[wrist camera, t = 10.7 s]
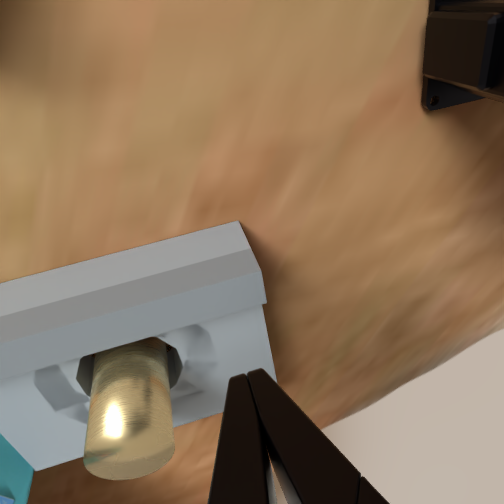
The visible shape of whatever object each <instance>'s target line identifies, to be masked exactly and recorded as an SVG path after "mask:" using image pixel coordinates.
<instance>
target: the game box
mask: <svg viewBox="0 0 504 504" xmlns="http://www.w3.org/2000/svg"><path fill="white" fill-rule="evenodd" d="M34 470H35V469H34V468H33V467H32V466H31V465H30V464H29V463H28V462H27V461H26V460H25V459H24V458H23V457H22V456H21V455H20V454H19V453H18V451H17V450H16V449H15V448H14V447H13V446H12V445H11V444H10V443H9V442H8V441H7V440H6V439H5V438H4V437H3V436H2V434H1V433H0V504H27V502H28V497H29V493H30V488H31V483H32V478H33V474H34Z"/></svg>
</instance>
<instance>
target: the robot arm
mask: <svg viewBox="0 0 504 504" xmlns="http://www.w3.org/2000/svg"><path fill="white" fill-rule="evenodd" d="M423 74H424V76H423V88H422V100H421V102H422V106H423V107H424V108H425V109H428V110H430V111H432V110H438V109H442V108H446V107H450V106H454V105H458V104H462V103H466V102H470V101H474V100H478V99H482V98H489V99H493V100H497V101H500V102H504V0H430V5H429V16H428V18H427V26H426V38H425V50H424V62H423ZM433 96H434V101H433V102H432V103H431V104H430V101H431V99H432V97H433ZM268 454H269V455H268ZM269 457H270V459H269ZM270 460H271V463H272V466H273V468H274V471H275V474H276V476H277V478H278V481H279V483H280V486H281V488H282V491H283V493H284V495H285V498H286V500H287V503H288V504H389V502H387V500H385V499H384V497H383V496H381V494H380V493H379V492H378V491H377V490H376V489H375V488H374V487H373V486H372V485H371V484H370V483H369V482H368V481H367V479H366V478H365V477H363V476H362V477H361V473H360V472H359V471H358V470H357V469H356V468H355V467H354V466H353V465H352V464H351V462H350V461H349V460H348V459H347V458H346V457H345V456H344V455H343V454H342V453H341V452H340V451H339V450H338V448H337V447H336V446H335V445H334V444H333V443H332V442H331V441H330V440H329V439H328V438H327V437H326V436H325V435H324V434H323V432H322V431H321V430H320V429H319V428H318V427H317V426H316V425H315V424H314V423H313V422H312V420H311V419H310V418H309V417H308V416H307V415H306V414H305V413H304V412H303V411H302V410H301V409H300V408H299V406H298V405H297V404H296V403H295V402H294V401H293V400H292V399H291V398H290V397H289V396H288V395H287V394H286V392H285V391H284V390H283V389H282V388H281V387H280V386H279V385H278V384H277V383H276V382H275V381H274V380H273V378H272V377H271V376H270V375H269V374H268V373H267V372H266V371H265V370H264V369H263V368H258V369H255V370H252V371H249V372H248V373H247V375H246V374H244V373H242V374H239V375H236V376H232V377H231V378H230V379H229V382H228V388H227V394H226V399H225V405H224V411H223V417H222V423H221V429H220V434H219V440H218V446H217V452H216V458H215V464H214V469H213V475H212V481H211V487H210V493H209V499H208V504H277V499H276V492H275V486H274V481H273V474H272V469H271V463H270Z"/></svg>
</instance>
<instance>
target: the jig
mask: <svg viewBox="0 0 504 504" xmlns="http://www.w3.org/2000/svg"><path fill="white" fill-rule="evenodd" d="M265 303H267V300H266V294H265V289H264V283H263V278H262V272H261V269H260V267H259V265H258V263H257V260H256V258H255V256H254V254H253V252H252V250H251V247H250V245H249V243H248V241H247V239H246V236H245V234H244V232H243V230H242V228H241V225H240V223H239V221H235V222H231V223H227V224H223V225H219V226H216V227H212V228H208V229H204V230H200V231H197V232H193V233H189V234H185V235H182V236H178V237H174V238H170V239H166V240H163V241H159V242H155V243H151V244H147V245H144V246H140V247H136V248H132V249H129V250H125V251H121V252H117V253H113V254H110V255H106V256H102V257H98V258H94V259H91V260H87V261H83V262H79V263H76V264H72V265H68V266H64V267H60V268H57V269H53V270H49V271H45V272H42V273H38V274H34V275H30V276H26V277H23V278H19V279H15V280H11V281H7V282H4V283H0V433H1V434H2V436H3V437H4V438H5V439H6V440H7V441H8V442H9V443H10V444H11V445H12V446H13V447H14V448H15V449H16V450H17V451H18V453H19V454H20V455H21V456H22V457H23V458H24V459H25V460H26V461H27V462H28V463H29V464H30V465H31V466H32V467H33V468H34V469H35V471H39V470H42V469H45V468H48V467H52V466H55V465H58V464H61V463H64V462H67V461H70V460H74V459H77V458H80V457H83V455H84V447H85V439H86V430H87V422H88V413H89V405H90V396H91V388H92V379H93V371H94V362H95V358H94V357H92V356H91V354H93V353H97V352H100V351H103V350H107V349H110V348H114V347H117V346H121V345H124V344H128V343H131V342H134V341H138V340H141V339H145V338H148V337H152V336H153V337H158V338H159V339H161V340H163V341H164V342H166V343H168V344H169V345H171V346H173V348H172V349H171V350H170V351H169V352H167V361H168V373H169V384H170V396H171V408H172V420H173V428H174V427H177V426H180V425H183V424H187V423H190V422H193V421H196V420H199V419H202V418H205V417H209V416H212V415H215V414H218V413H221V412H223V411H224V405H225V399H226V394H227V388H228V382H229V379H230V378H231V377H232V376H236V375H239V374H242V373H244V374H246V375H247V373H248V372H249V371H252V370H255V369H258V368H263V369H264V370H265V371H266V372H267V373H268V374H269V375H270V376H271V377H272V378H273V380H274V381H275V382H276V383H277V380H276V375H275V369H274V364H273V359H272V354H271V349H270V344H269V339H268V334H267V328H266V323H265V318H264V313H263V308H262V304H265Z"/></svg>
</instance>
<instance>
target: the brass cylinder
mask: <svg viewBox="0 0 504 504" xmlns="http://www.w3.org/2000/svg"><path fill="white" fill-rule="evenodd" d="M174 450H175V444H174V432H173V420H172V408H171V396H170V384H169V373H168V361H167V349H166V342H164V341H163V340H161V339H159V338H158V337H153V336H152V337H148V338H145V339H141V340H138V341H134V342H131V343H128V344H124V345H121V346H117V347H114V348H110V349H107V350H103V351H100V352H97V353H96V354H95V362H94V371H93V379H92V388H91V396H90V405H89V413H88V422H87V430H86V439H85V447H84V455H83V463H84V466H85V467H86V469H87V470H88V471H89V472H90V473H92V474H93V475H95V476H97V477H100V478H104V479H109V480H129V479H135V478H139V477H143V476H146V475H148V474H151V473H153V472H155V471H157V470H158V469H160V468H161V467H163V466H164V465H165V464H166V463H167V462H168V461H169V460H170V459H171V457H172V456H173V454H174Z"/></svg>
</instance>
